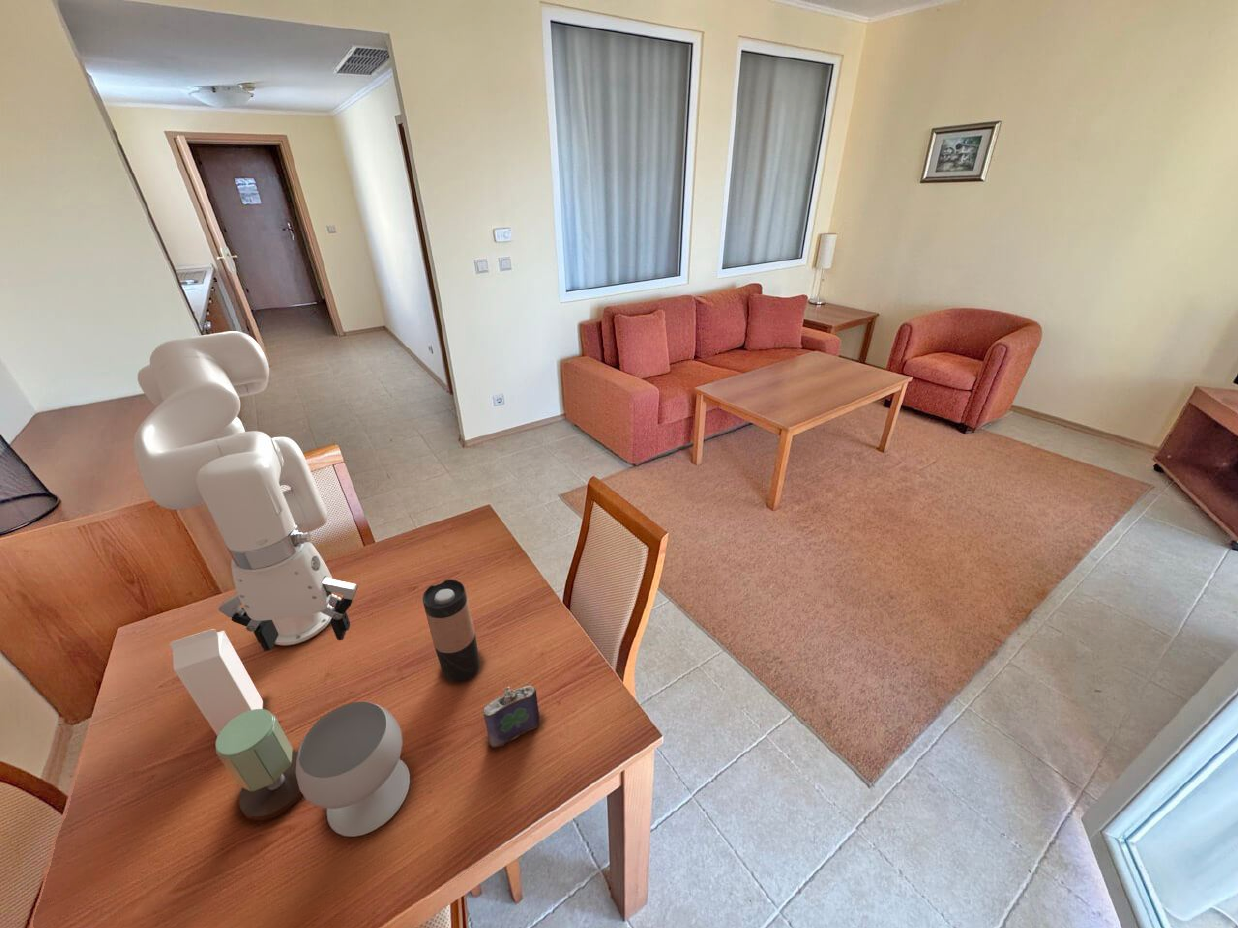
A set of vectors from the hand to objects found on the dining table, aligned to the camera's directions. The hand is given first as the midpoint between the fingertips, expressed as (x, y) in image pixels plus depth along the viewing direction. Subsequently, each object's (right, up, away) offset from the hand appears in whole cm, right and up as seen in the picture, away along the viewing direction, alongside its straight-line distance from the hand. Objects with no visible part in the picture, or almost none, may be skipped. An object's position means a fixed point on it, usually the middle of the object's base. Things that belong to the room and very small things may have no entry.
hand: (308, 637), depth 73 cm
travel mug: (+14, -16, +27) cm, 34 cm away
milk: (-23, -22, +18) cm, 36 cm away
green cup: (-10, -22, +5) cm, 24 cm away
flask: (+27, -22, +15) cm, 38 cm away
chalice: (+6, -27, +6) cm, 29 cm away
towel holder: (-10, -27, +7) cm, 29 cm away
